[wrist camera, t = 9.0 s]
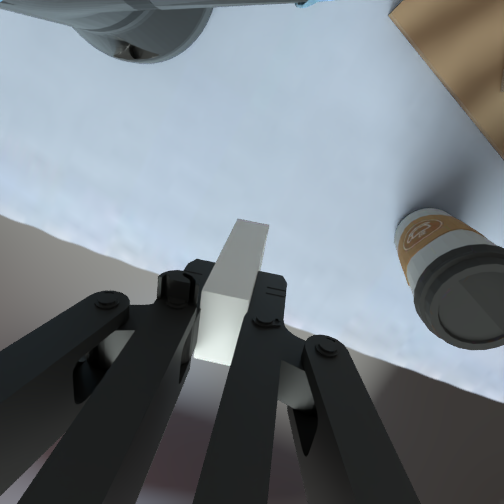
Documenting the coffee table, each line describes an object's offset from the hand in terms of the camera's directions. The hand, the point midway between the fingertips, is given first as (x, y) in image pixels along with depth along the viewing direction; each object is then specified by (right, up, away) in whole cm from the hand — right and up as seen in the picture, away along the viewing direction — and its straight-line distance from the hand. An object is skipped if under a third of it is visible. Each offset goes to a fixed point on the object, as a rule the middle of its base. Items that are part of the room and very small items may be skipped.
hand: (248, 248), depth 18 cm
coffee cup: (+19, +2, +23) cm, 30 cm away
